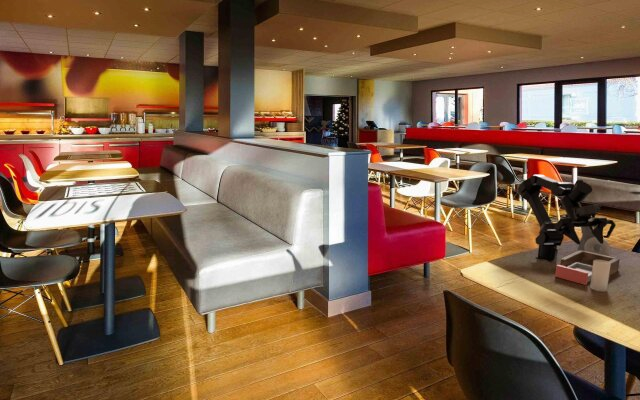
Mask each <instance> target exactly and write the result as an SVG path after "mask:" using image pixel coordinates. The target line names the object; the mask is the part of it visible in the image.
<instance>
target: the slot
mask: <svg viewBox="0 0 640 400" xmlns="http://www.w3.org/2000/svg"><path fill="white" fill-rule="evenodd" d="M594 260H605V261H608V262H610V263H611V265H610V272H609V277H610V276H612V275H613V274H615V273H617V272H618V271H619V269H620V268H619V266H620V260H621V259H620V258H618V257H613V256H610V255H609V256H605V255H601V254H597V253H592V252H588V251H583V250H579V251H575V252H573V253H571V254H568V255H566V256H564V257H562V258H561V259H560V264H559V265H561V266H565V267H567V266H569V265H571V264H573V263H575V262H578V263H582V264H586V265H590V266H593V261H594Z"/></svg>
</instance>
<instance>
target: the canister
mask: <svg viewBox="0 0 640 400" xmlns="http://www.w3.org/2000/svg"><path fill="white" fill-rule="evenodd" d="M610 265H611V263H610V262H608V261H605V260H594V261H593V268H592V276H591V281H590V283H589V284H590V285H589V287H590V289H592V290H593V291H596V292H604V293H605V292H607V291H608V286H609V279H610V276H609V272H610Z"/></svg>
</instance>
